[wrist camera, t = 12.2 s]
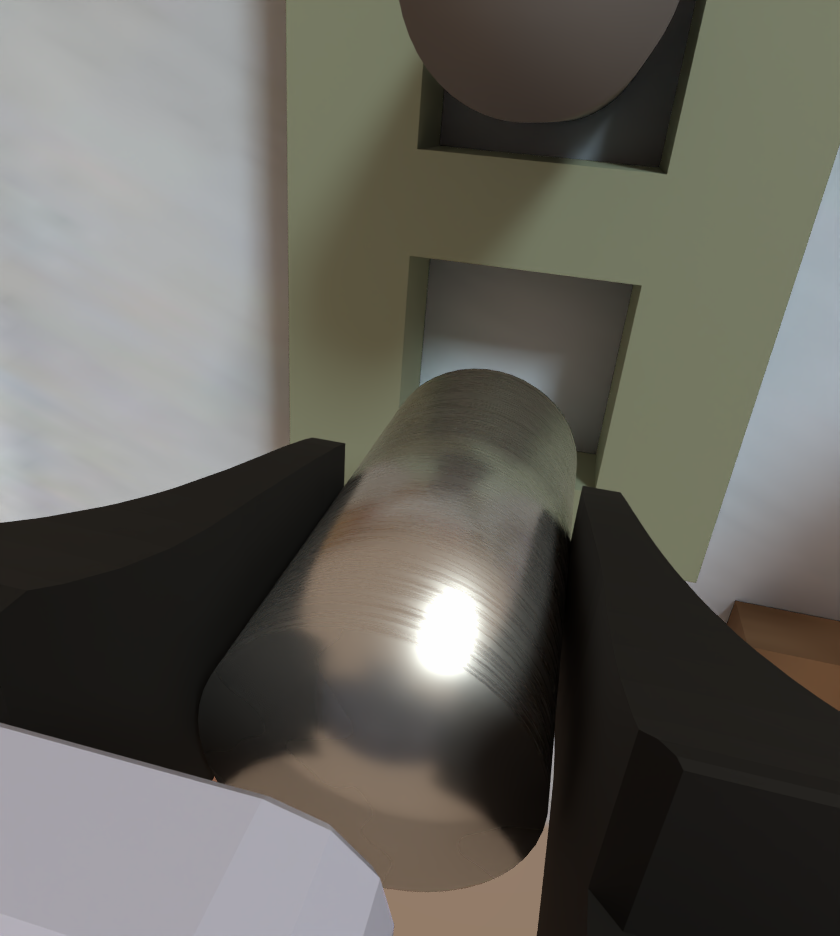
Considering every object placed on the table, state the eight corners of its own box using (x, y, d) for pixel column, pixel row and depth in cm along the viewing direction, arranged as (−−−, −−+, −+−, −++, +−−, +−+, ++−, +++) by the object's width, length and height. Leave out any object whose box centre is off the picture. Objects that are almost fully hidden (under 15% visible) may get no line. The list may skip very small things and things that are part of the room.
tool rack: (933, -264, 13) (1309, -703, 6) (686, 535, 21) (726, 736, 14) (329, -263, 15) (93, -591, 8) (319, 467, 23) (199, 614, 16)
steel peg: (619, 461, 14) (633, 808, 7) (487, 571, 16) (394, 929, 9) (470, 327, 13) (323, 557, 6) (352, 458, 15) (141, 743, 8)
